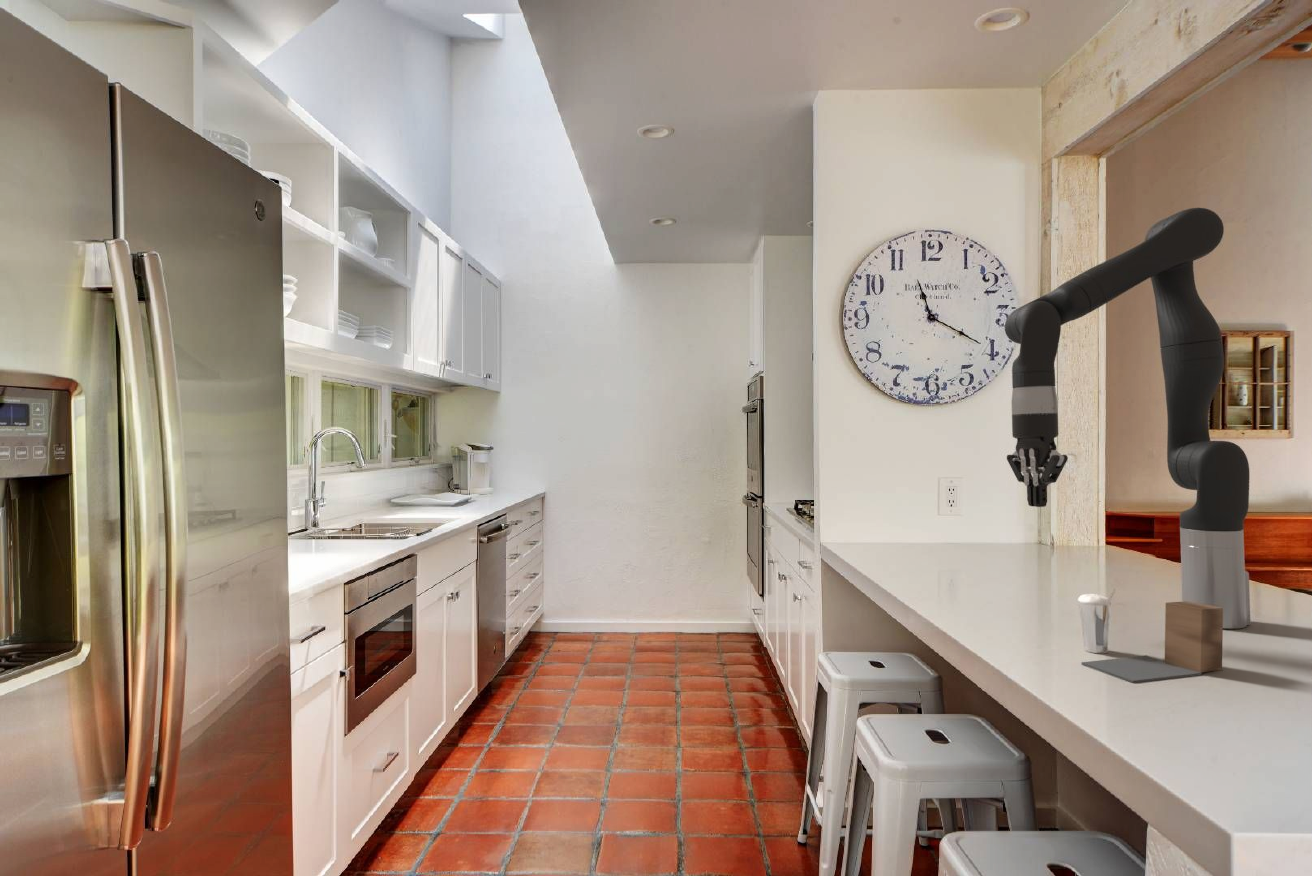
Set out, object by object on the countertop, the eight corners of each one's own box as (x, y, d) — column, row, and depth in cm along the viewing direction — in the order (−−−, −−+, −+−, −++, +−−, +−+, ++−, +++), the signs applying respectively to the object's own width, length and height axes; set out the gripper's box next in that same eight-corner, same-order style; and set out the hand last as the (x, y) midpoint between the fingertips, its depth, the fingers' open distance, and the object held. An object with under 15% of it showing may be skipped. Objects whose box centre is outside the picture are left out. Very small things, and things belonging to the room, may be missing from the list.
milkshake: (1123, 655, 114) (1121, 592, 114) (1085, 654, 115) (1083, 591, 115) (1111, 647, 118) (1109, 586, 119) (1075, 646, 119) (1073, 585, 120)
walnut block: (1185, 660, 111) (1186, 601, 111) (1222, 669, 106) (1223, 608, 106) (1164, 662, 109) (1165, 602, 109) (1200, 672, 104) (1201, 609, 104)
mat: (1146, 657, 113) (1146, 655, 113) (1201, 674, 104) (1201, 672, 104) (1081, 664, 110) (1081, 662, 110) (1132, 682, 101) (1132, 680, 101)
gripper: (1080, 410, 128) (1083, 508, 128) (1025, 413, 141) (1028, 503, 141) (1044, 410, 126) (1047, 510, 126) (992, 414, 139) (994, 504, 139)
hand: (1037, 506), depth 133 cm, fingers closed
